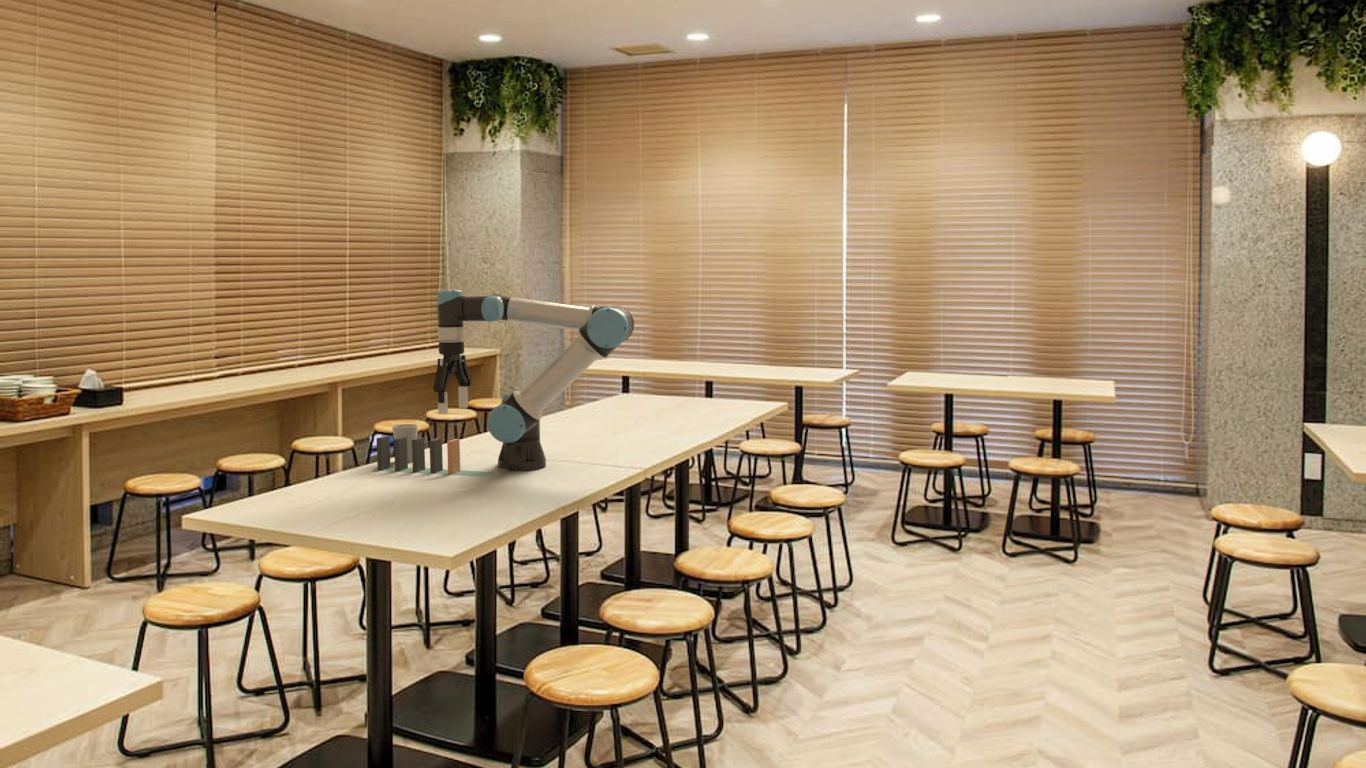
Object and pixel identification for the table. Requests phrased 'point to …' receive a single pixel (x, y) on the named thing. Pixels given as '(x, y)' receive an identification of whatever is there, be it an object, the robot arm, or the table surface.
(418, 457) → the domino
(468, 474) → the runner
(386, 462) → the domino
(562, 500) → the table surface
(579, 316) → the robot arm
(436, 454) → the domino
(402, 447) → the domino
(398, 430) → the cup
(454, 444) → the domino
